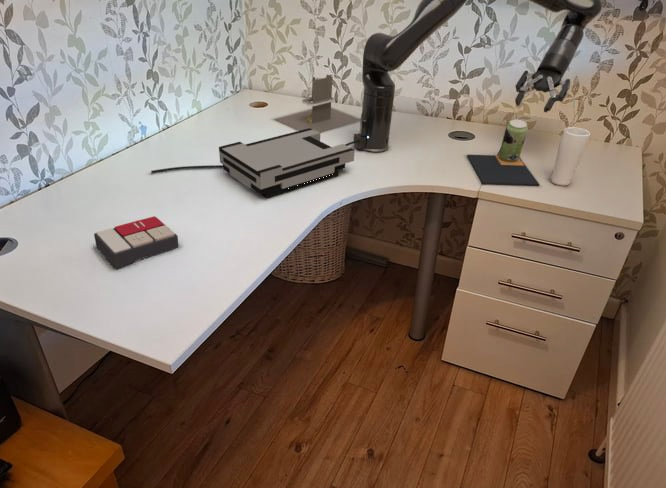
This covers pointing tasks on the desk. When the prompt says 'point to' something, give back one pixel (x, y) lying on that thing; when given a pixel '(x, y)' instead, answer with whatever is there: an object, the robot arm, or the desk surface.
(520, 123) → the beverage can
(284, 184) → the game console
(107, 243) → the button panel
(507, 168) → the desk mat
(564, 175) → the drinking glass
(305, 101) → the architectural model
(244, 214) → the desk surface
